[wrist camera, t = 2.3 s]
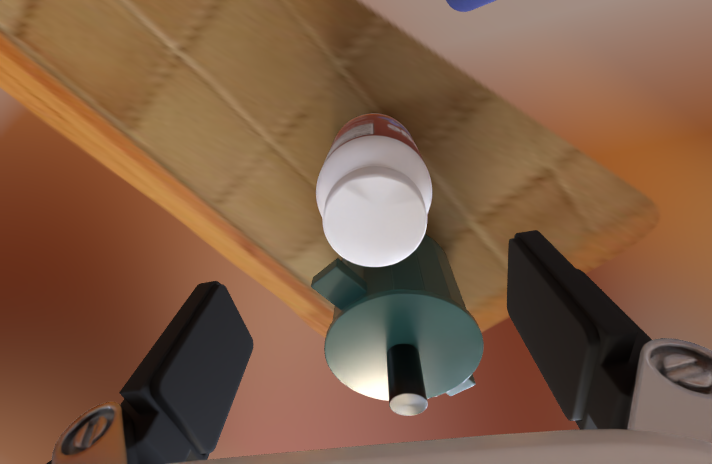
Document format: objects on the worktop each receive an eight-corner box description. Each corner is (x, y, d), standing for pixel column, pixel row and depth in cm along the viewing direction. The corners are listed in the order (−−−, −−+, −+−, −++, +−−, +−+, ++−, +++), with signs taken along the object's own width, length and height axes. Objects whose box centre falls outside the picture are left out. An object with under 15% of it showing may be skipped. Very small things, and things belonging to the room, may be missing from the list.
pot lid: (413, 252, 18) (425, 308, 14) (508, 346, 22) (539, 411, 18) (295, 336, 22) (279, 398, 18) (392, 404, 26) (397, 469, 22)
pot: (378, 182, 25) (382, 236, 17) (485, 293, 30) (523, 372, 22) (296, 252, 28) (271, 322, 21) (404, 341, 33) (415, 422, 26)
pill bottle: (426, 172, 24) (465, 252, 14) (355, 205, 26) (347, 297, 16) (393, 94, 21) (413, 128, 12) (316, 136, 23) (278, 197, 13)
